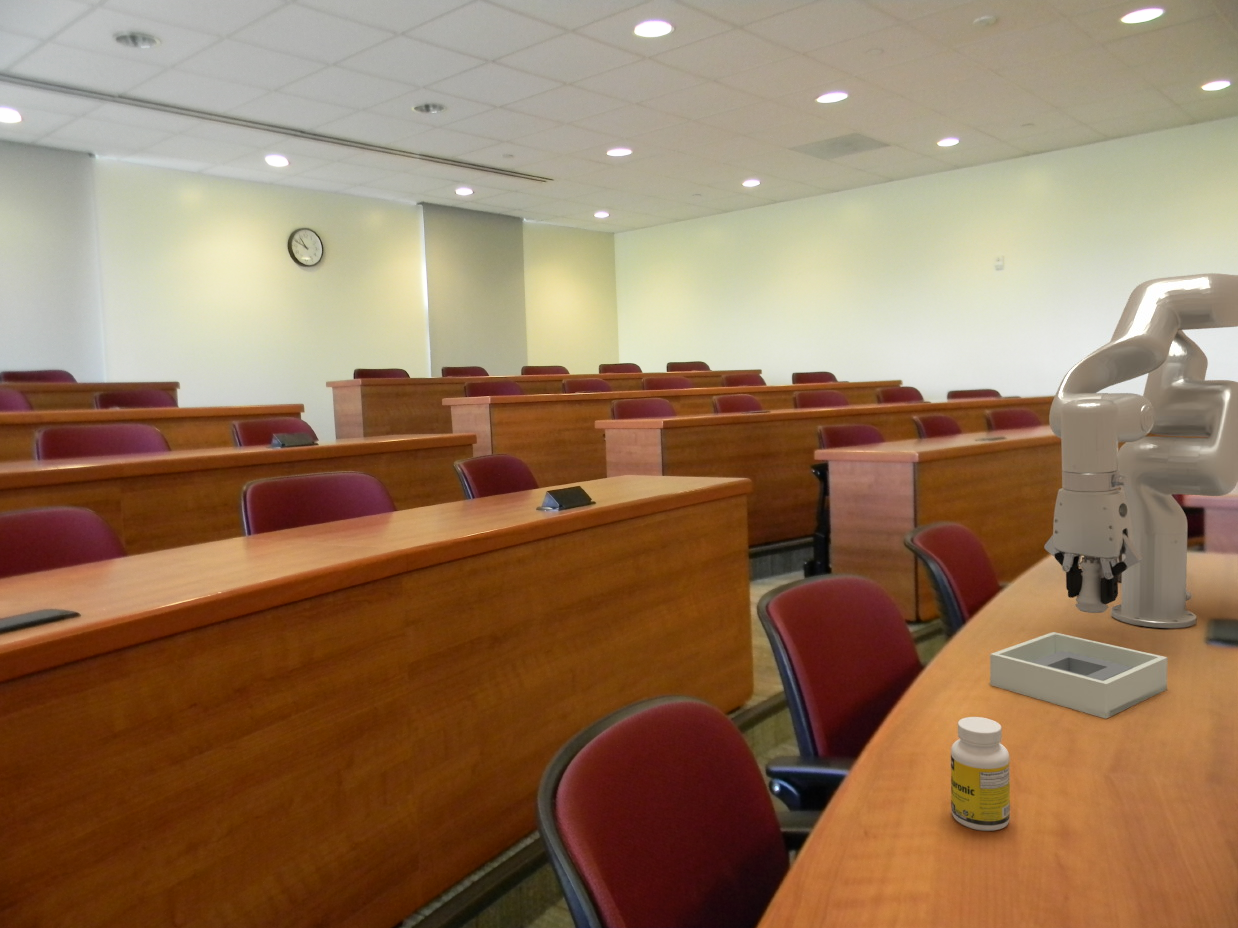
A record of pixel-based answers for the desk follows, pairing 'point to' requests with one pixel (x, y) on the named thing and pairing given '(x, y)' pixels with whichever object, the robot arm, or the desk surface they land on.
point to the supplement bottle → (980, 775)
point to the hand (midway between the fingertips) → (1091, 597)
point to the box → (1079, 673)
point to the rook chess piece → (1090, 587)
